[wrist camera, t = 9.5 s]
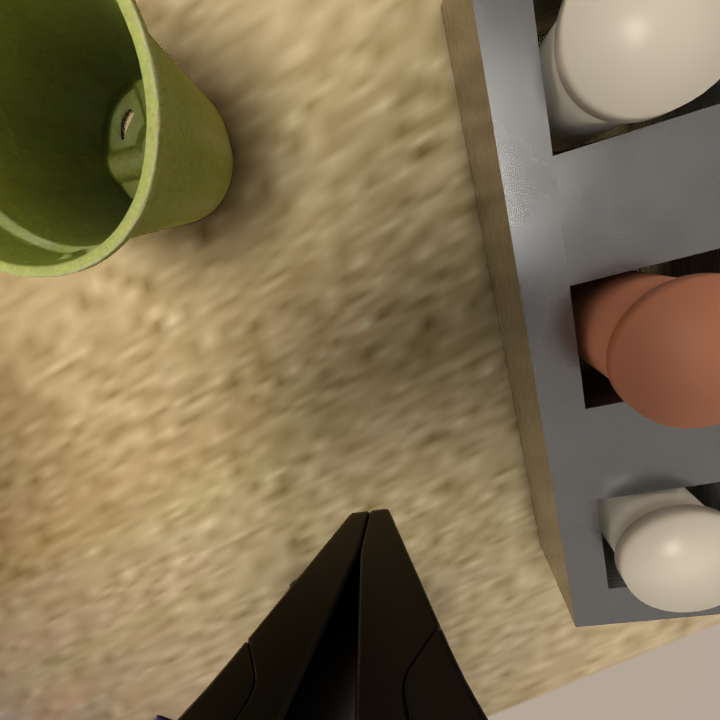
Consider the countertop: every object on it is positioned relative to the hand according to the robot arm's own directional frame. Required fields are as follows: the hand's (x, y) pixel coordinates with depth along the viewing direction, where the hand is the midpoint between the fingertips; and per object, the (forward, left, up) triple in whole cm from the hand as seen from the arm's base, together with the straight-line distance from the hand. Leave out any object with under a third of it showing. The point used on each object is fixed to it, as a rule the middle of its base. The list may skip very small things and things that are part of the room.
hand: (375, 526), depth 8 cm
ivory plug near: (+9, -10, -12) cm, 18 cm away
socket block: (0, -10, -12) cm, 16 cm away
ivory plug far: (-9, -10, -12) cm, 18 cm away
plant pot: (+12, +7, -13) cm, 19 cm away
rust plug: (0, -10, -11) cm, 15 cm away
